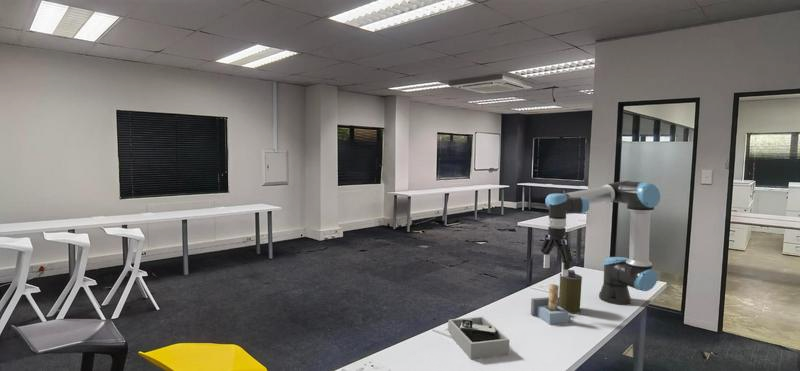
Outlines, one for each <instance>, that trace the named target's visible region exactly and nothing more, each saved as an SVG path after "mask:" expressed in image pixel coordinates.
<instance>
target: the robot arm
mask: <svg viewBox="0 0 800 371" xmlns="http://www.w3.org/2000/svg"><path fill="white" fill-rule="evenodd" d="M660 192H661V191H660V190H659V188H658V187H657V186H656V185H655V184H654V183H651V182H650V183H649V182H646V181H633V180H632V181H631V180H623V181H622V180H621V181H617V182H611V183H607V184H603V185H602V186H600V187H595V188H589V189H588V188H587V189H583V190H577V191H570V192H565V193H558V192H556V193H549V194H548V195H547V196H546V198H545V199H544V200H545V202H544V204H545V206H546V207H547V208H548V228H547V229H548V230H547V234H545V237H544V240H543V243H542V246H541V249H540V252H541V253H543V268H544V269H549V268H550V262H551V254H550V252H551V251H552V249H553V248H556V249H557V250H558V252H559V254H560V257H561V258H562V261H561V273H562V277H563V276H568V270H570V269H569V266H570V265H569V264H570V263H572V262H573V258H572V253H571V250H570V246H569V239H564V237H565V236H566V231H567V230H566V227H567V215H569V214H584V213H587V212H588V211H589V210H590V205H591V204H593V205H594V204H599V203H602V202H603V203H604V202H606V203H621V204H626V209H627V210H628V211H629V213H630V215H629V216H630V217H629V218H630V219H629V249H628V250H629V253H628V256H629V257H623V256H609V257H606V258H605V259H604V265H603V284H602V286H601V289H600V291H599V294H598V298H599V299H600V300H601V301H603V302H607V303H610V304H615V305H629V304H631V295H630V292H629V288H628V287H630V288H632V289H635V290H637V291H642V292H648V291H650V290H652V289H653V288H654V287H655V286H656V284H657V282H658V279H659V278H658V273H657V272H656V270H655V269H653V263H652V262H651V261H650V259H649V258H650V235H651V233H650V231H651V214H652V212H654V211H655V207H657V206H658V204H659V203H660V202H661V193H660Z"/></svg>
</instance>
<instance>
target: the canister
mask: <svg viewBox="0 0 800 371" xmlns="http://www.w3.org/2000/svg"><path fill="white" fill-rule="evenodd" d="M582 281H583V276H582V275H580V274H576V272H575V270H574V269H568V276H563V277H562V272H561V273H560V274H559V288H558V298H559V307H561V308H563V309H564V310H566V311H568V312H569V314H572V315H573V314H578V313H580V312H581V300H582V298H581V296H582V283H583V282H582Z"/></svg>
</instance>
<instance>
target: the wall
mask: <svg viewBox="0 0 800 371" xmlns="http://www.w3.org/2000/svg"><path fill="white" fill-rule="evenodd" d="M530 300H531V301H530V316H532V317H538V316H537V306H542V305H549V296H548V297H547V296H545V297H535V298H530ZM558 306H559V297H558Z"/></svg>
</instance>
